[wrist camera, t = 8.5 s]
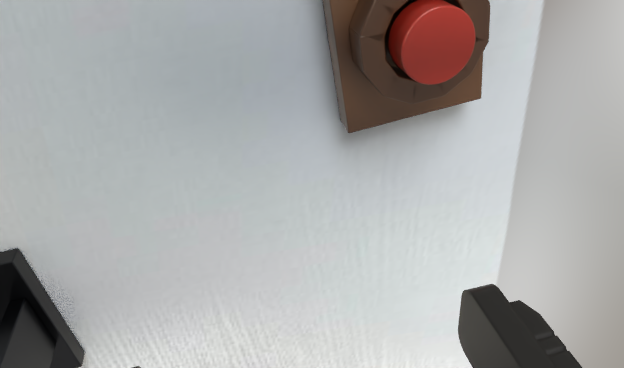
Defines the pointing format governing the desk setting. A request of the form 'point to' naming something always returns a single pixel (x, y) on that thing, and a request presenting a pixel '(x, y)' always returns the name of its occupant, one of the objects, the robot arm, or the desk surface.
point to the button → (431, 41)
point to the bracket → (31, 321)
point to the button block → (391, 64)
